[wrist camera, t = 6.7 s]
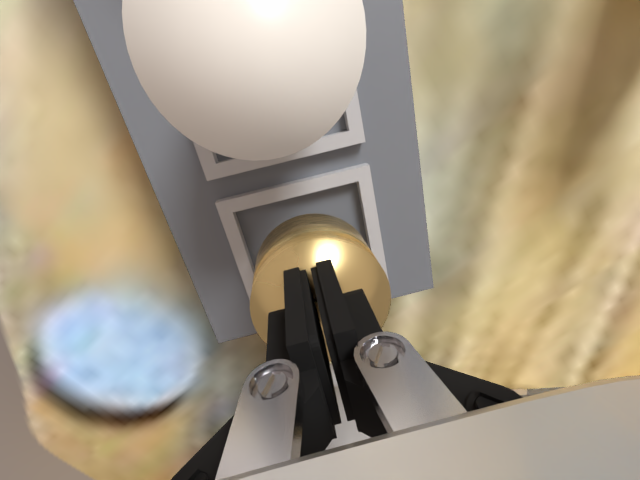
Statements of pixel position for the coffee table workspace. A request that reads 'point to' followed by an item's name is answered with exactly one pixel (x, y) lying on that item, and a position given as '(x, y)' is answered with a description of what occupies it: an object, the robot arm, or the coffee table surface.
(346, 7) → the white knob middle
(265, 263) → the brass knob
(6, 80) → the coffee table surface
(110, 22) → the grey compartment tray
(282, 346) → the robot arm
